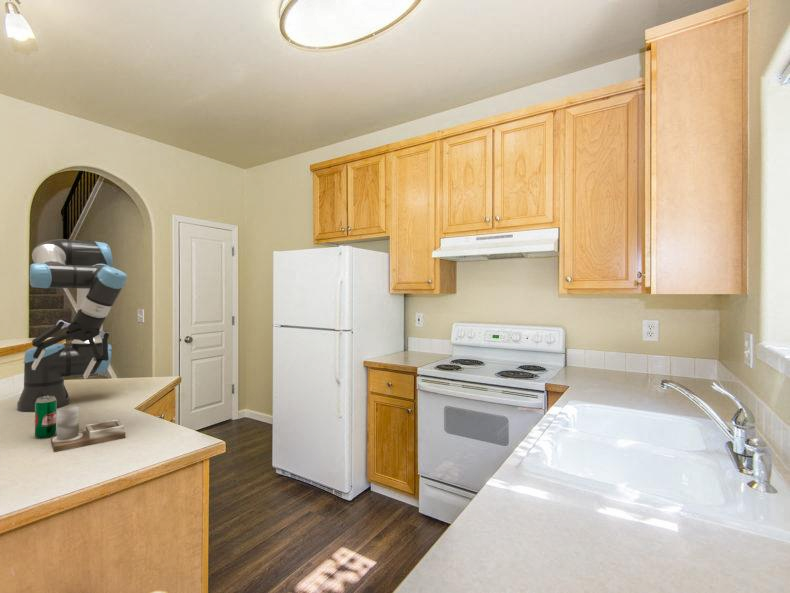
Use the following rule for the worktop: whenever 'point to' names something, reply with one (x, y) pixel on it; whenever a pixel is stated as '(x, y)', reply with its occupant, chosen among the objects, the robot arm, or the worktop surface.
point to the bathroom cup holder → (94, 432)
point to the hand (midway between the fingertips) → (60, 372)
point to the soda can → (45, 416)
